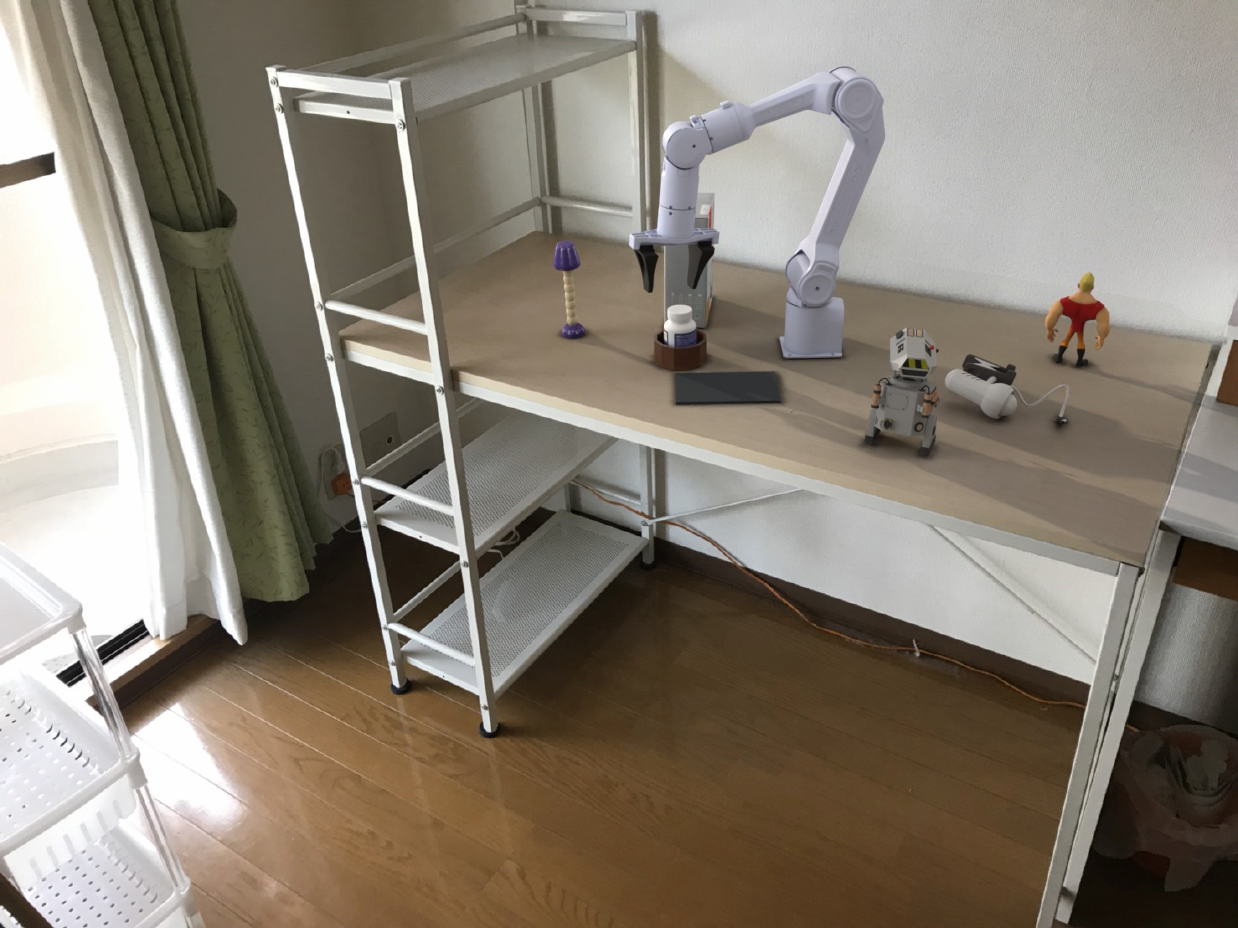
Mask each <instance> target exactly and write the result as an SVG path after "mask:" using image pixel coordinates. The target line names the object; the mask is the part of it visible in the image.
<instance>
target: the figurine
mask: <svg viewBox="0 0 1238 928" xmlns="http://www.w3.org/2000/svg"><path fill="white" fill-rule="evenodd" d="M889 340H890V341H889V347H890V348H889V362H890V366H891V370H892V371H893V374H892V375H886V376H885V377H882V378H880V379H879V380H878V383H876V384H874V388H873V390H872V391H873V394H872V397H871V405H870V410H869V416H868V421H867V428H866V433H865V436H864V440H863V441H864V442H863V443H866V444H870V445H873V444H874V443H875V441H876V439H877V438H878V437H879V435H880V433H881V432H887V433H891V434H896V435H901V436H904V437H905V436H906V437H911V438H912V437H922V436H923V439H922V443H921V446H920V449H919V454H920V455H924V456H929V455H930V453H931V450H932V449H933V448H934V445H935V443H936V440H937V438H936V437H937V435H936V431H937V425H938V424H937V423H938V416H937V415H933V414H932V413H933V408H934V409H937V408H941V401H942V398H940V397H941V395H940V393H939V390H938V388H937V387H938V383H936V382H934V381H931V380H929V379H928V377H929V376H930V375H932V374H933V373H934V371H935V370H936V368H937V367H938V359H937V358H938V357H937V354H938V353H939V351H940V349H939V348H937V344H936V342H935V341H934V339H933V338H932V337H931V335H929V334H928V332H927V331H926V330H925V329H924V328H923V329H922V328H913V327H912V328H911V327H905V328H904V329H900V330H898V331H897V332H896V333H895V335H894V336H892V337H891V338H890V339H889ZM897 372H898V373H897Z"/></svg>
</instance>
